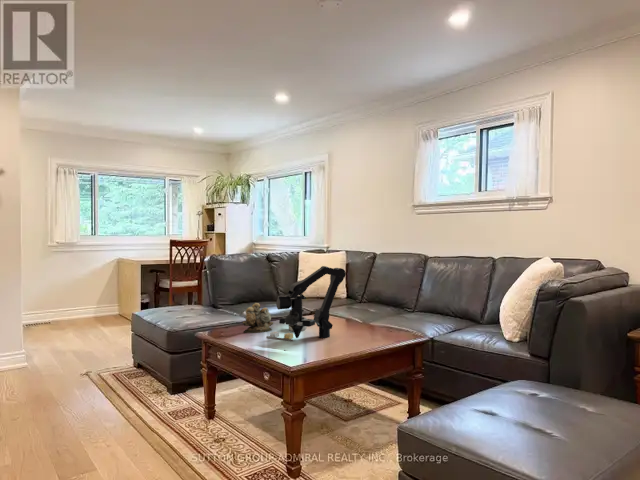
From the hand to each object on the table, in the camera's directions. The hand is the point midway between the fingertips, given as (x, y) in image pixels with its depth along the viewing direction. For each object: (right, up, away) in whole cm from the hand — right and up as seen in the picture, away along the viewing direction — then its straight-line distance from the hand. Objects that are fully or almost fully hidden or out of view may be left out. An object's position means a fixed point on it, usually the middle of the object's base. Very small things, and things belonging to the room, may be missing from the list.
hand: (297, 338), depth 232 cm
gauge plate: (-7, -2, +4) cm, 8 cm away
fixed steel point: (-12, -1, +7) cm, 14 cm away
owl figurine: (-24, -2, +22) cm, 33 cm away
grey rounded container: (-2, -2, +25) cm, 25 cm away
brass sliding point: (-5, -1, +2) cm, 5 cm away
